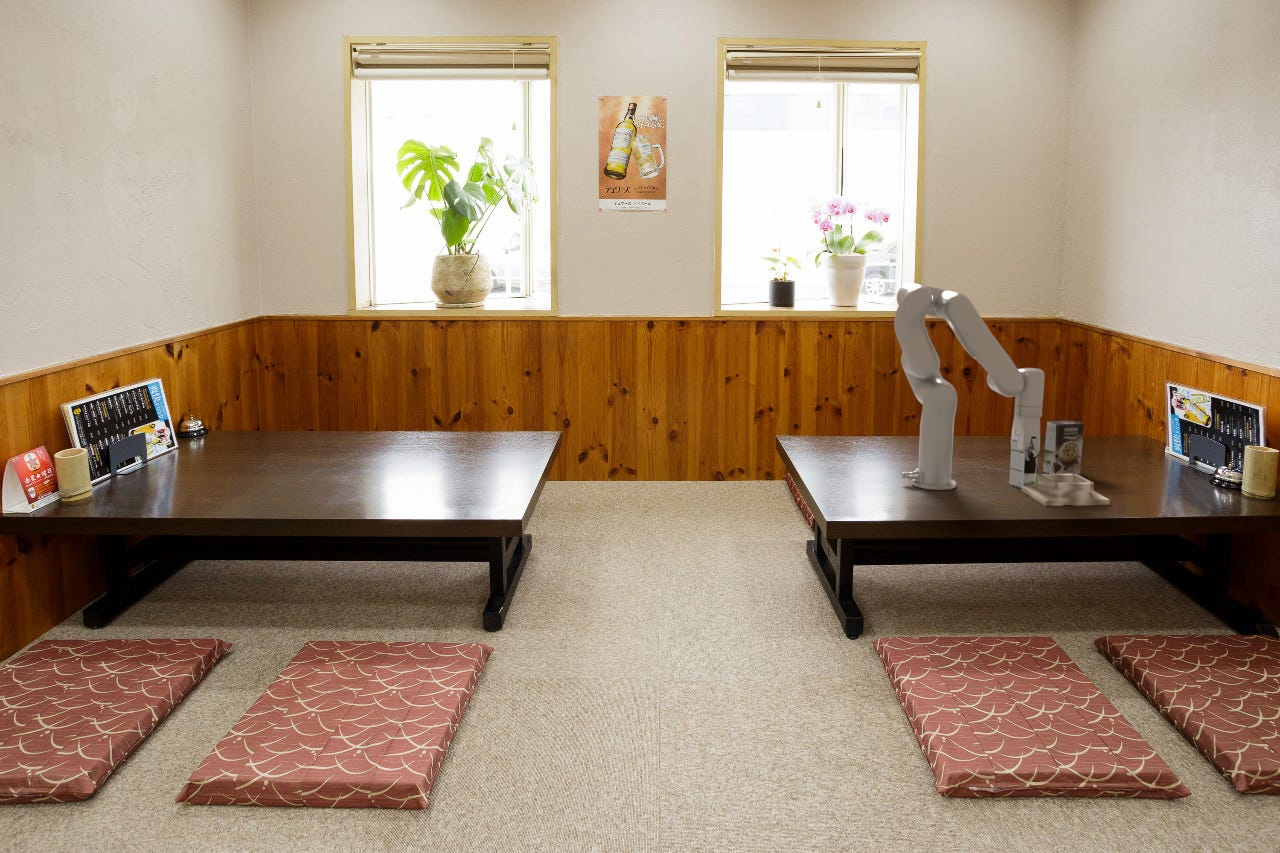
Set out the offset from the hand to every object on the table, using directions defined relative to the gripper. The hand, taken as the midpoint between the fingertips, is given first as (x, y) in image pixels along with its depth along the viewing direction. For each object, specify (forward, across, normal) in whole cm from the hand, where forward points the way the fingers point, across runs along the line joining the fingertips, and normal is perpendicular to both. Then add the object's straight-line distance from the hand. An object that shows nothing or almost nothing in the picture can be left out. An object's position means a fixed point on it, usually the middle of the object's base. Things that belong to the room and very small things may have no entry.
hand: (1024, 469), depth 304 cm
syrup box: (+5, 0, 0) cm, 5 cm away
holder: (+5, +14, +6) cm, 16 cm away
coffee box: (+5, -14, +18) cm, 23 cm away
